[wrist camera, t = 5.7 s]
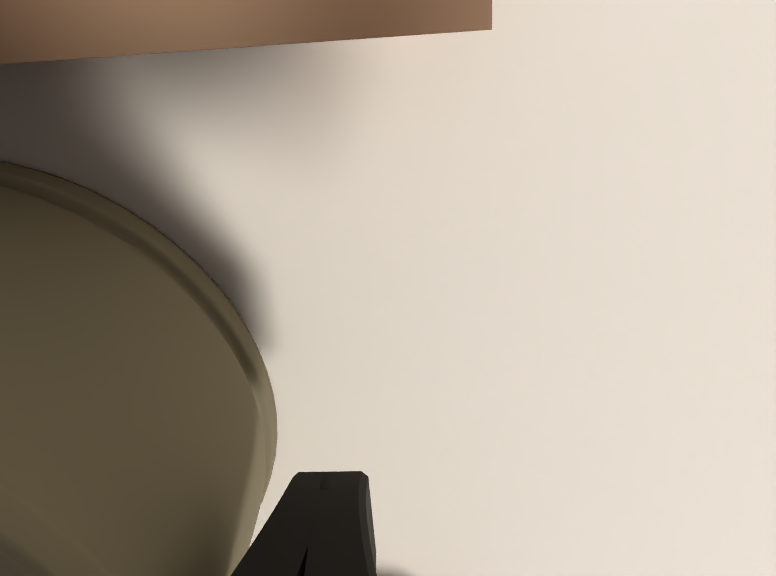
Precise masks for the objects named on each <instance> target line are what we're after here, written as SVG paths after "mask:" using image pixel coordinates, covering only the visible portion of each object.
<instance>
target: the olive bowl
mask: <svg viewBox="0 0 776 576" xmlns="http://www.w3.org/2000/svg"><path fill="white" fill-rule="evenodd" d="M276 444H277V414H276V408H275V401H274V395H273V391H272V387H271V383H270V380H269V376H268V373H267V370H266V367H265V365H264V362H263V360H262V357H261V355H260V352H259V350H258V348H257V346H256V344H255V342H254V340H253V338H252V336H251V334H250V332H249V331H248V329H247V327H246V325H245V324H244V322H243V321H242V319H241V318H240V316H239V315H238V313H237V311H236V310H235V308H234V307H233V305H232V304H231V303H230V302H229V300H228V299H227V298H226V297H225V295H224V294H223V293H222V291H221V290H220V289H219V288H218V286H217V285H216V284H215V283H214V282H213V281H212V280H211V279H210V277H209V276H208V275H207V274H206V273H205V272H204V271H203V270H202V269H201V268H200V267H199V266H198V265H197V264H196V263H195V262H194V261H193V260H192V259H191V258H190V257H189V256H188V255H186V254H185V253H184V252H183V251H182V250H181V249H180V248H179V247H178V246H176V245H175V244H174V243H173V242H172V241H170V240H169V239H168V238H166V237H165V236H164V235H162V234H161V233H160V232H159V231H157V230H156V229H155V228H153V227H152V226H151V225H149V224H148V223H146V222H145V221H143V220H141V219H140V218H138V217H137V216H135V215H134V214H132V213H131V212H129V211H128V210H126V209H124V208H123V207H121V206H119V205H117V204H115V203H113V202H111V201H110V200H108V199H106V198H104V197H102V196H100V195H98V194H97V193H94V192H92V191H90V190H87V189H85V188H83V187H81V186H78V185H76V184H74V183H71V182H69V181H67V180H64V179H61V178H58V177H55V176H52V175H49V174H46V173H44V172H41V171H38V170H34V169H30V168H26V167H22V166H18V165H14V164H10V163H5V162H0V576H231V574H232V573H233V571H234V570H235V568H236V567H237V565H238V564H239V562H240V561H241V560H242V558H243V557H244V555H245V554H246V552H247V551H248V549H249V545H250V542H251V538H252V535H253V531H254V528H255V524H256V520H257V516H258V512H259V509H260V505H261V503H262V501H263V498H264V495H265V492H266V490H267V487H268V484H269V481H270V478H271V474H272V469H273V465H274V460H275V456H276Z"/></svg>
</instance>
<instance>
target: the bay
mask: <svg viewBox="0 0 776 576" xmlns="http://www.w3.org/2000/svg"><path fill="white" fill-rule="evenodd" d="M478 30H492V0H0V64H11V63H25V62H40V61H54V60H68V59H82V58H96V57H110V56H125V55H139V54H153V53H167V52H181V51H195V50H209V49H224V48H238V47H252V46H266V45H280V44H294V43H309V42H323V41H337V40H351V39H365V38H379V37H393V36H408V35H422V34H436V33H450V32H464V31H478Z"/></svg>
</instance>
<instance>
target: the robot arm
mask: <svg viewBox="0 0 776 576" xmlns="http://www.w3.org/2000/svg"><path fill="white" fill-rule="evenodd" d="M231 576H377V574H376V548H375V538H374V528H373V519H372V509H371V499H370V489H369V480H368V476H367V475H365V474H364V473H363V472H361V471H345V472H298V473H297V474H296V475H295V476H294V477H293V478H292V480H291V482H290V483H289V485H288V487H287V489H286V490H285V492H284V494H283V496H282V497H281V499H280V501H279V502H278V504H277V506H276V507H275V509H274V511H273V512H272V514H271V515H270V517H269V519H268V520H267V522H266V523H265V525H264V526H263V528H262V530H261V531H260V533H259V534H258V536H257V537H256V539H255V540H254V542H253V543H252V545H251V546H250V548H249V549H248V551H247V552H246V554H245V555H244V557H243V558H242V560H241V561H240V562H239V564H238V565H237V567H236V568H235V570H234V571H233V573H232V574H231Z"/></svg>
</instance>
